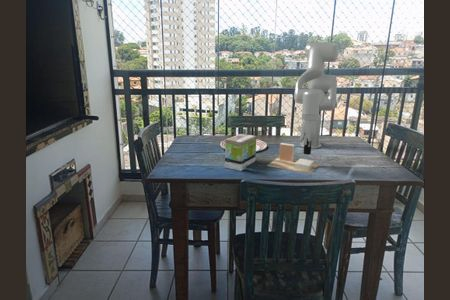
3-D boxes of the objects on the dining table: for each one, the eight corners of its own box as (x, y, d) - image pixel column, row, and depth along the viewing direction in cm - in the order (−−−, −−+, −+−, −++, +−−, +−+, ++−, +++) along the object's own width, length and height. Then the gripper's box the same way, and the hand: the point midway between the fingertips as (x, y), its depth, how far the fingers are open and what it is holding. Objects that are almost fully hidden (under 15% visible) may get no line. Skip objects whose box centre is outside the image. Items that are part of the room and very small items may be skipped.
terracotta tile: (280, 158, 170) (281, 142, 168) (293, 160, 167) (294, 144, 164) (279, 159, 168) (279, 144, 166) (292, 161, 165) (293, 145, 162)
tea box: (241, 171, 155) (242, 142, 151) (224, 167, 160) (224, 139, 156) (256, 163, 167) (256, 135, 163) (239, 159, 172) (239, 132, 168)
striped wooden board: (278, 159, 173) (278, 156, 173) (319, 165, 163) (319, 163, 162) (266, 167, 160) (266, 165, 159) (310, 176, 149) (310, 173, 149)
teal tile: (300, 158, 162) (294, 163, 155) (313, 160, 159) (309, 165, 152) (299, 163, 163) (294, 168, 156) (313, 165, 160) (308, 170, 153)
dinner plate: (275, 152, 184) (275, 147, 183) (231, 158, 175) (231, 152, 174) (253, 141, 209) (253, 136, 208) (214, 145, 199) (213, 140, 198)
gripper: (306, 113, 162) (304, 149, 167) (297, 119, 149) (294, 156, 155) (321, 115, 158) (318, 151, 163) (313, 120, 146) (310, 159, 151)
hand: (307, 153), depth 159 cm, fingers closed
